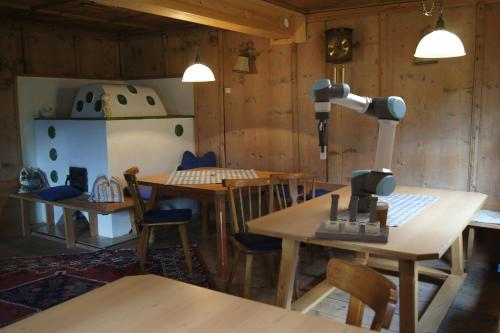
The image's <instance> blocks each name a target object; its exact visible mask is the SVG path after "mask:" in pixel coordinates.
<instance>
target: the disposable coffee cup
mask: <svg viewBox="0 0 500 333" xmlns="http://www.w3.org/2000/svg"><path fill="white" fill-rule="evenodd" d="M389 208H390V205H389V203H388V202H385V201H377V213H376V221H379V222H380V226H387V221H388V213H389Z"/></svg>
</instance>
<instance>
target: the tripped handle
mask: <svg viewBox="0 0 500 333" xmlns="http://www.w3.org/2000/svg"><path fill="white" fill-rule="evenodd" d="M330 197H331V202H330V212H329V213H330V217H329V219H330V221H337V219H338V211H339V199H340V194H335V193H334V194H333V193H332V194H330Z"/></svg>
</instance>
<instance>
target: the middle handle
mask: <svg viewBox="0 0 500 333" xmlns="http://www.w3.org/2000/svg"><path fill="white" fill-rule="evenodd" d="M350 200H351V206H350V211H349V218H348V220H349V222H356V220H357V218H358V217H357V214H358V212H357V204H358V201H359V196H351V195H350V196H349V201H350Z"/></svg>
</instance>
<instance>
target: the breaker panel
mask: <svg viewBox="0 0 500 333" xmlns="http://www.w3.org/2000/svg"><path fill="white" fill-rule="evenodd" d="M314 234H315V239H320V240H334V241H335V240H336V241H350V242H351V241H352V242H365V243H381V244H383V243H384V244H388V242H389V235H390V226H389V225H386V226H380V222H379V221H376V223H369V220H368V221H367V220H366V223H365V224H361V220H357V219H356V222H349V219H347V221H346V223H342V219H338V218H337V221H330V218H329V219H327V220H326V222H321V224H320V225H319V226H318V228H317V229H316V231H315V233H314Z"/></svg>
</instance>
